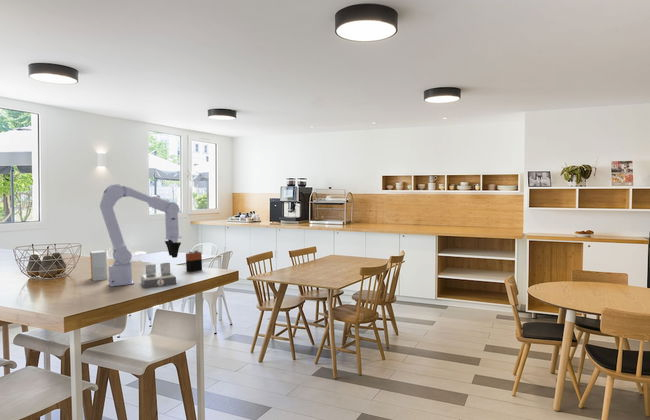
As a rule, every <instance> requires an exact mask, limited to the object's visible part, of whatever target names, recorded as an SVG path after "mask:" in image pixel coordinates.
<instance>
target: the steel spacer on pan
mask: <svg viewBox="0 0 650 420" xmlns="http://www.w3.org/2000/svg"><path fill="white" fill-rule="evenodd" d="M156 274H157V270H156V264H155V263H150V264H145V275H146V277H155V276H156Z"/></svg>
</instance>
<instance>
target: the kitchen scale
mask: <svg viewBox="0 0 650 420" xmlns="http://www.w3.org/2000/svg"><path fill="white" fill-rule="evenodd" d="M140 284H141V285H142V287H143V288H144V289H145V288H146V289H147V288H154V287H161V286H162V287H163V286H170V285H171V286H172V285H177V277H176V276H175V275H174V274H173V273H172V272H171V271H170V275H166V276H162V275H161V272H160V273H156V276H155V277H146V274H141V276H140Z"/></svg>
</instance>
